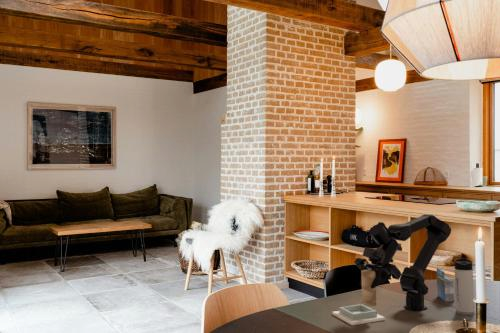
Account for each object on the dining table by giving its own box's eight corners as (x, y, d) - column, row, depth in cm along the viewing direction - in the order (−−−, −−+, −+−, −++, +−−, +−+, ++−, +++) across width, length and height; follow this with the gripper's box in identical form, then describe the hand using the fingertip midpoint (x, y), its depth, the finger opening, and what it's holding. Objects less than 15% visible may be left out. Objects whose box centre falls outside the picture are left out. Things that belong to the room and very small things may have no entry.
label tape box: (454, 301, 194) (453, 271, 194) (444, 302, 195) (443, 271, 195) (446, 295, 203) (445, 267, 203) (436, 296, 203) (435, 267, 203)
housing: (363, 309, 187) (363, 302, 187) (385, 320, 174) (384, 311, 174) (332, 314, 183) (332, 306, 183) (351, 325, 170) (351, 316, 170)
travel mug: (473, 310, 182) (471, 258, 182) (475, 316, 176) (473, 261, 176) (455, 309, 184) (453, 257, 184) (456, 314, 178) (455, 261, 178)
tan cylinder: (374, 302, 177) (373, 269, 177) (378, 305, 172) (377, 272, 172) (360, 302, 176) (359, 270, 176) (364, 306, 171) (363, 273, 172)
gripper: (356, 236, 184) (336, 269, 178) (394, 242, 168) (373, 277, 162) (372, 254, 188) (352, 286, 182) (410, 261, 172) (390, 297, 167)
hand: (366, 286), depth 173 cm, fingers closed on tan cylinder, 5 cm apart
